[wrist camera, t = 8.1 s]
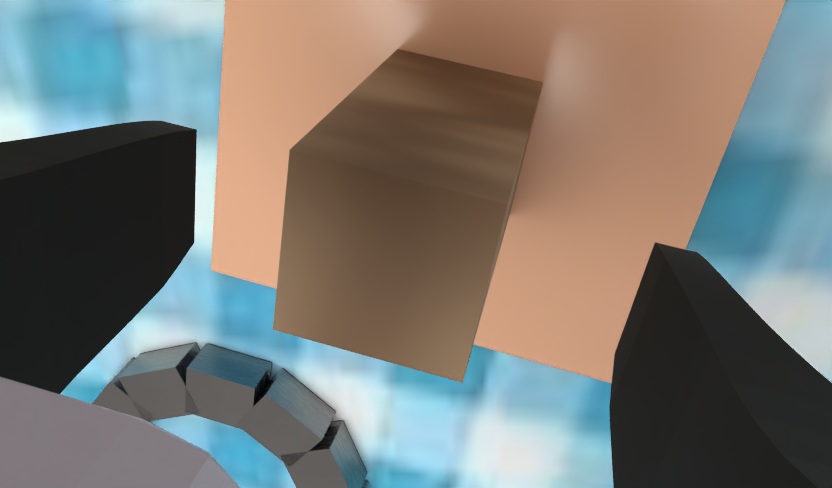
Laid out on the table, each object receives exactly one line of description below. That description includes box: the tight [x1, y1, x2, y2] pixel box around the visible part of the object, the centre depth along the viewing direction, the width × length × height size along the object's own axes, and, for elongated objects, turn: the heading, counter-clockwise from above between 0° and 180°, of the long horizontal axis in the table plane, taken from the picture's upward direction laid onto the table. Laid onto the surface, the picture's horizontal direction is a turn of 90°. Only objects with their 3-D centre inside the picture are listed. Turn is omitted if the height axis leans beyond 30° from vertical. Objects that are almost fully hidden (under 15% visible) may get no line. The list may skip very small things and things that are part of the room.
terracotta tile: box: [211, 0, 786, 383], centre depth 21 cm, size 14×14×1 cm
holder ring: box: [92, 343, 368, 488], centre depth 29 cm, size 11×11×2 cm
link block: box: [273, 49, 543, 383], centre depth 18 cm, size 4×4×8 cm
